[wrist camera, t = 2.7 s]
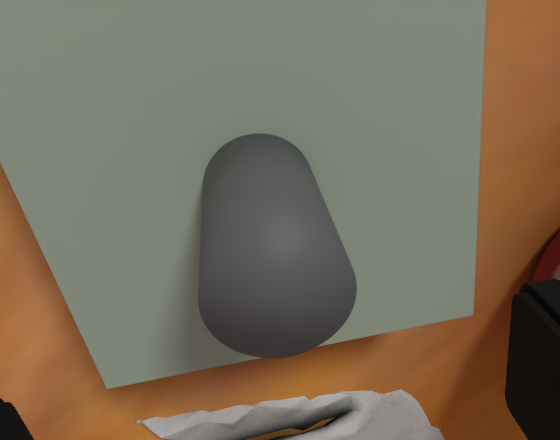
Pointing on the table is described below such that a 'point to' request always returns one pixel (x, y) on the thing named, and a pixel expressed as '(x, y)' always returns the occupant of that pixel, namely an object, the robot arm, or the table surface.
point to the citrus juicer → (549, 262)
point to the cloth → (307, 419)
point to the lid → (245, 170)
